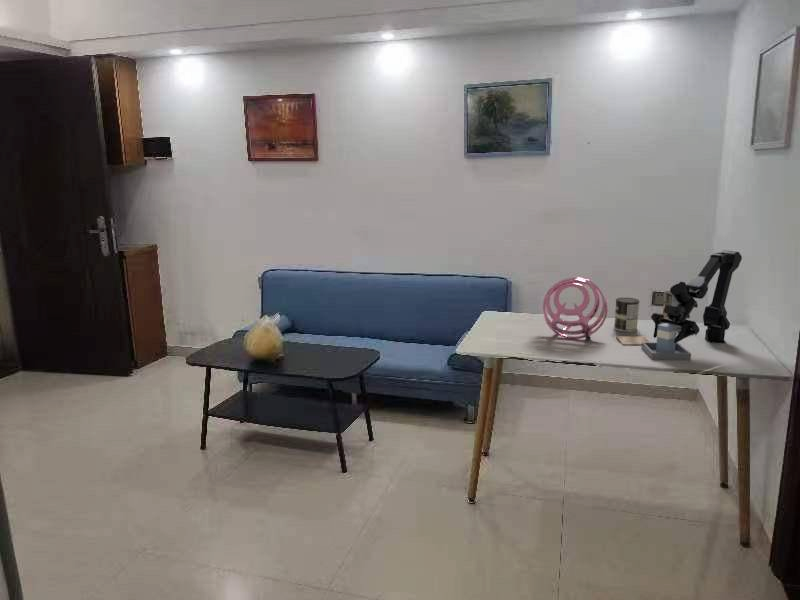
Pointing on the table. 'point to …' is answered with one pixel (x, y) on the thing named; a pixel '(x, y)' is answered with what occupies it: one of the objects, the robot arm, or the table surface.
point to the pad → (631, 340)
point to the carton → (666, 338)
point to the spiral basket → (577, 311)
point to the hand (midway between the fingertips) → (664, 339)
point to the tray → (678, 355)
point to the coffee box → (669, 302)
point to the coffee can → (626, 314)
